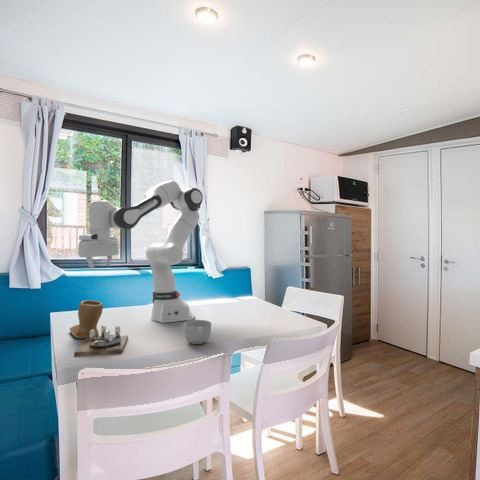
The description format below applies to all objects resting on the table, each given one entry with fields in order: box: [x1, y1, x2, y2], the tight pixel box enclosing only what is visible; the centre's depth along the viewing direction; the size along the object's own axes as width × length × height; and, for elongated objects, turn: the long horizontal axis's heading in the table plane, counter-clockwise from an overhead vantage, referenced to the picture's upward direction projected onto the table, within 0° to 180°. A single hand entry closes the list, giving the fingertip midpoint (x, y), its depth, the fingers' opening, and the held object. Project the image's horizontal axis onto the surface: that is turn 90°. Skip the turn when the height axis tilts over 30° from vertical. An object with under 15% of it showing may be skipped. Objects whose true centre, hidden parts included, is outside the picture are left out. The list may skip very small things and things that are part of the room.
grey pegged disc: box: [90, 324, 121, 348], centre depth 125 cm, size 11×11×6 cm
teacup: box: [183, 319, 212, 345], centre depth 131 cm, size 14×11×8 cm
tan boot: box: [69, 299, 104, 339], centre depth 142 cm, size 15×12×15 cm
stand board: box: [73, 334, 129, 357], centre depth 126 cm, size 16×17×2 cm
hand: (99, 266), depth 149 cm, fingers open, 8 cm apart
